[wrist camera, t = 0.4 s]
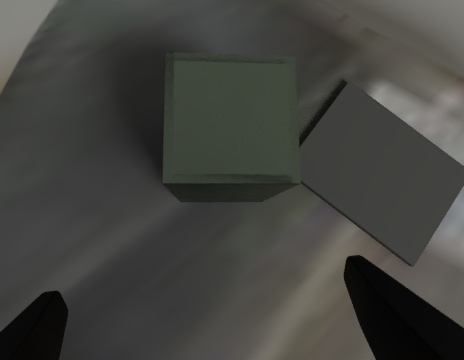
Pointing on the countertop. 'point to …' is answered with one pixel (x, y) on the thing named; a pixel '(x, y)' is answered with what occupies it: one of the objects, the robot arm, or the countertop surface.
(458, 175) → the mat
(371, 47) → the countertop surface
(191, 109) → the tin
